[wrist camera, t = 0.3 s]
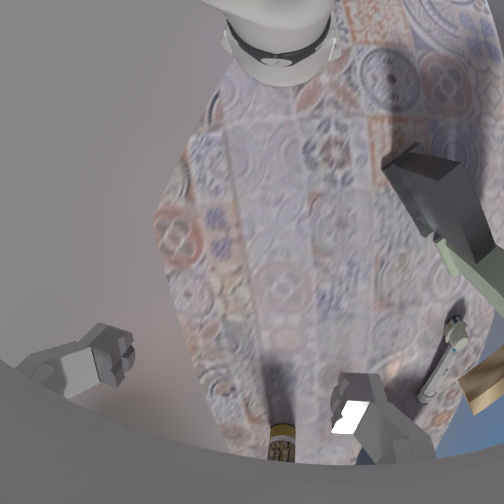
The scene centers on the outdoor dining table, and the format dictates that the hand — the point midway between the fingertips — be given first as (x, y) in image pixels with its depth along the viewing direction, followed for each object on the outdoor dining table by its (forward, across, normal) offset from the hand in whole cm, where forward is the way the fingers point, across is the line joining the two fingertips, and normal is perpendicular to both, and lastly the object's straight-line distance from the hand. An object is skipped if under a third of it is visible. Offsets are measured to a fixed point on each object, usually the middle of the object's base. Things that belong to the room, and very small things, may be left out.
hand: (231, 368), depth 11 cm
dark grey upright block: (+40, -23, -6) cm, 46 cm away
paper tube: (+43, -10, +59) cm, 74 cm away
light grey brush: (+43, -42, +30) cm, 67 cm away
